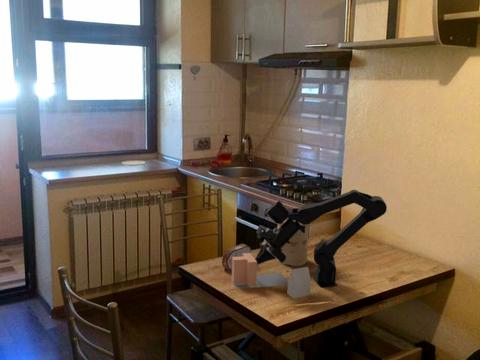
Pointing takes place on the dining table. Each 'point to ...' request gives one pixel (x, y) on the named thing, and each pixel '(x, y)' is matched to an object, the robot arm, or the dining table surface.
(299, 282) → the grey upright block
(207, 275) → the dining table surface
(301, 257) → the container
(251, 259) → the t block
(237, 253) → the tin
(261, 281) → the board
